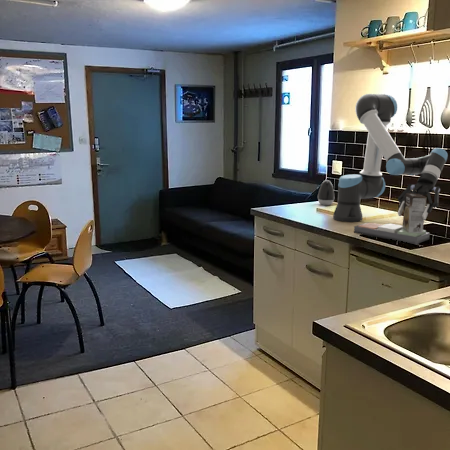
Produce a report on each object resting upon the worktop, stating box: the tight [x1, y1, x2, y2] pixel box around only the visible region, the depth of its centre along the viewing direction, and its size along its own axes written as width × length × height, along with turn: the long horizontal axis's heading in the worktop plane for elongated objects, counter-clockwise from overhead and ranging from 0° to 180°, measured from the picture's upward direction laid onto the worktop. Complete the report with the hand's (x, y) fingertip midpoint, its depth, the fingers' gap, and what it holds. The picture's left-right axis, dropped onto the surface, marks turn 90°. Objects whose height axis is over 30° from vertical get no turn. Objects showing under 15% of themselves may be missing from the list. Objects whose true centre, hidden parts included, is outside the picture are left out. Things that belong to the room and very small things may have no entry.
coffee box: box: [402, 193, 428, 233], centre depth 215 cm, size 9×6×16 cm
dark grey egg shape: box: [317, 179, 335, 206], centre depth 303 cm, size 10×10×15 cm
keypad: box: [353, 222, 431, 245], centre depth 224 cm, size 30×14×3 cm, turn 46°
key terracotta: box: [358, 222, 382, 229], centre depth 230 cm, size 8×11×2 cm
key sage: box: [398, 229, 427, 237], centre depth 217 cm, size 8×11×2 cm
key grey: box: [377, 223, 403, 233], centre depth 224 cm, size 8×11×2 cm
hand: (411, 216), depth 213 cm, fingers closed on coffee box, 10 cm apart
